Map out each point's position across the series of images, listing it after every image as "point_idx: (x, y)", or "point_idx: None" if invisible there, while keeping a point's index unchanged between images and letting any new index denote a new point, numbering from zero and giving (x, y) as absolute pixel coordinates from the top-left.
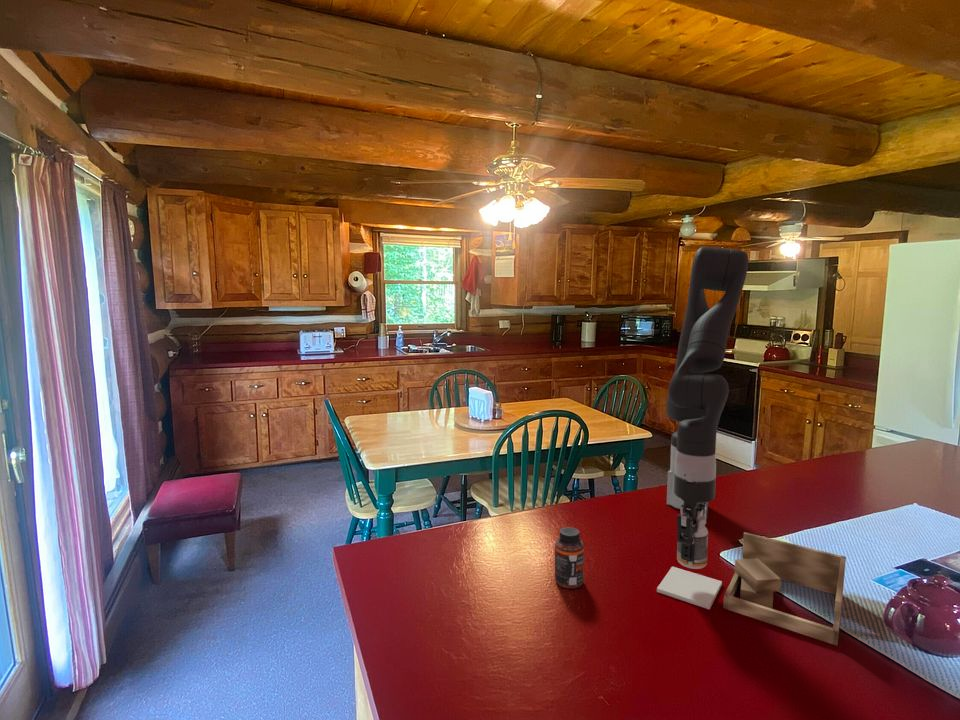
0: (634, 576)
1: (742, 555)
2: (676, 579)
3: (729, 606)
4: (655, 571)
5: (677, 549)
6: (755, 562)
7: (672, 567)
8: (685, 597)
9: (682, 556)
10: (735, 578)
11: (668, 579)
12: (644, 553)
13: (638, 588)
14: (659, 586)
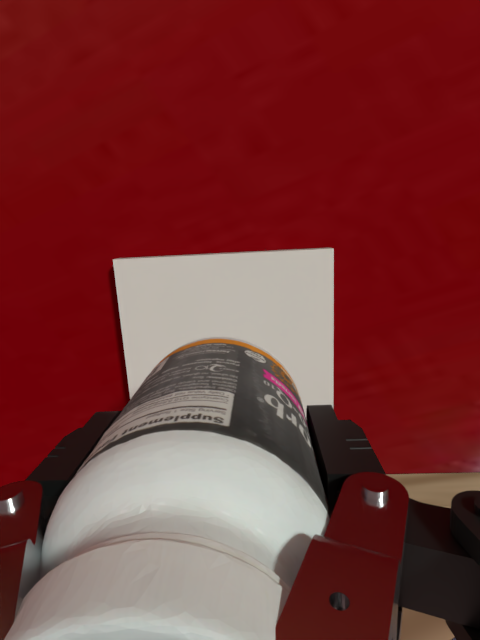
0: (167, 124)
1: None
2: (233, 302)
3: None
4: (271, 189)
5: (162, 369)
6: (435, 617)
7: (323, 253)
8: (127, 373)
9: (66, 436)
10: None
11: (211, 274)
12: (413, 66)
13: (90, 183)
14: (133, 263)
